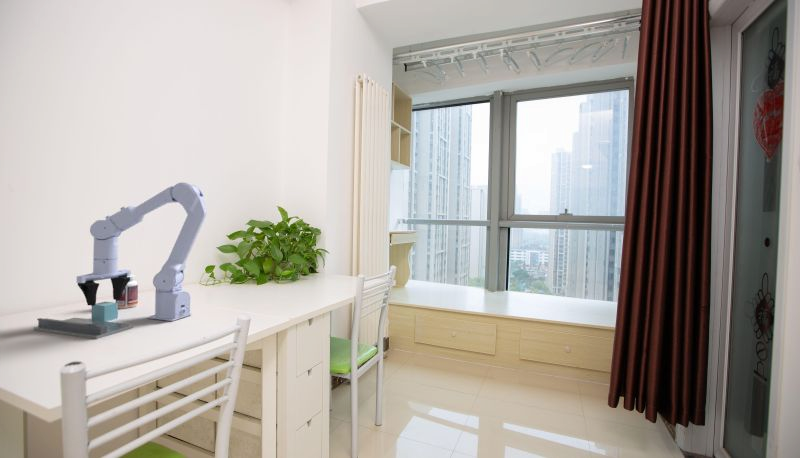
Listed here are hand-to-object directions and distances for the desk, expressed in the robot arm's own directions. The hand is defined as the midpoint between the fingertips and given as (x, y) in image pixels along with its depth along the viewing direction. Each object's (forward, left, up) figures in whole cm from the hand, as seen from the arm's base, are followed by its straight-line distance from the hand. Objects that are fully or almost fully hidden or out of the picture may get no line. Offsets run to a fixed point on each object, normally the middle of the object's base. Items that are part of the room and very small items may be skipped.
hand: (104, 302), depth 107 cm
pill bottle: (+8, -14, -6) cm, 17 cm away
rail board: (-4, +8, -5) cm, 11 cm away
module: (0, 0, -5) cm, 5 cm away
